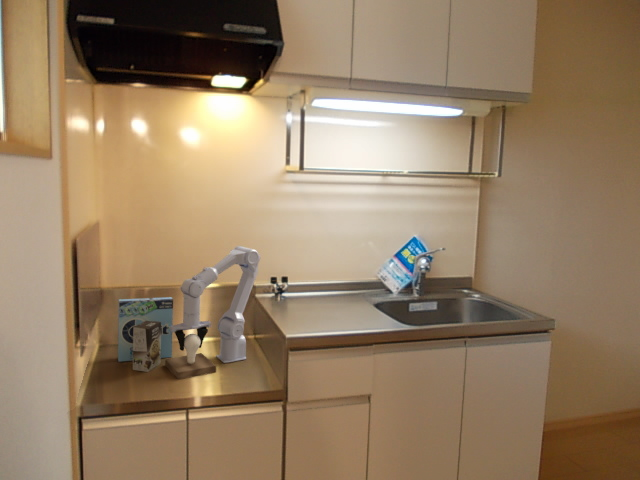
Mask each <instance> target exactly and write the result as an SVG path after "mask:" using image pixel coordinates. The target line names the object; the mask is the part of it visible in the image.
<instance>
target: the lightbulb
mask: <svg viewBox="0 0 640 480" xmlns="http://www.w3.org/2000/svg"><path fill="white" fill-rule="evenodd" d="M200 343H201V340H200V338H199V336H198V335H197V334H196V333H189V334H187V335H185V339H184V350H185V351H186V356H187V357H188V360H187V361H188V363H189V364H193V363H194V362H195V357H196V354H197V351H198V350H199V349H200V348H199V346H200Z"/></svg>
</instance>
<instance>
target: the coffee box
mask: <svg viewBox="0 0 640 480" xmlns="http://www.w3.org/2000/svg"><path fill="white" fill-rule="evenodd" d="M161 359H162V358H161V322H156V321H144V322H143V323H141V324H139V325H137V326H135V327H133V361H132V370H133V371H138V372H144V373H149V372H150V371H152V370H153V369H154V368H156V367H158V366H159V365H160V364H161V363H162V362H161Z"/></svg>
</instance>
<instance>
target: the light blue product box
mask: <svg viewBox="0 0 640 480" xmlns="http://www.w3.org/2000/svg"><path fill="white" fill-rule="evenodd" d="M173 316H174V299H173V297H171V296H169V297H167V296H166V297H143V298H125V299H124V298H122V299H121V298H120V299H118V320H117V321H118V327H117V328H118V331H117V332H118V333H117V335H118V336H117V337H118V339H117V340H118V341H117V342H118V343H117V360H118V363H120V362H121V363H122V362H130V361H131V362H133V327H135V326H137V325H139V324H141V323H143V322H144V321H156V322H161V359H169V358H173V333H172V332H171V326H173V324H174V323H173V322H174V321H173V320H174V319H173V318H174V317H173Z"/></svg>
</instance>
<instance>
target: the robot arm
mask: <svg viewBox="0 0 640 480" xmlns="http://www.w3.org/2000/svg"><path fill="white" fill-rule="evenodd" d="M260 260H261V256H260V254H259V252H258V251H257V250H256V249H255V248H249V247H246V246H241V245H238V246H235V247H234V248H233V249H231V250H230V252H229V253H228V254H227V255H226V256H225V257H224V258H222V259H220V261H219V262H217V263H216V264H215V265H213V266H212V267H211V266H208V267H203V268H202V271H200V272H199V273H197V274H196V275H192V277H191V278H187V279H185V280H184V281H183V283H182V284H181V286H179V287H180V291H181V292H182V295H183V306H182V307H183V311H182V312H183V313H182V320H183V321H182V322H181V323H178V324H174V325H173V326H171V332H172V334H173V333H174V334H175V336H176V338H177V342H178V344H179V350H180V351H181V352H184V350H185V347H184V339H185V337H186V333H185V331H189V330H190V331H191V330H196V333H197V334H196V335H198V336H199V338H200V340H201V343H200V346H199V348H198V349H201V348H202V345H203V342H204V339H205V337H206V335H207V333H208V332H209V329H208V328H211V327H212V322H211V321H209V320H205V321H201V320H200V318H201V317H200V315H201V314H200V313H201V310H200V309H201V306H200V305H201V296H202V295H203V294H204V291H205V289H206V288H208V286H210V285H211V284H213V283H214V282H216V281H217V280H218V276H219V274H222V273H223V272H225V271H226V270H228V269H229V268H231V267H232V266H234V265H238V266H239V267H240V269H241V271H242V274H241V277H240V279H239V282H238V285H237V287H236V290H235V293H234V295H233V298H232V300H231V304H230V307H229V309H228V310H227V311H225V312H224V313H223V314H222V316H221V318H220V319H219V320H218V323H217V325H216V327H217V331H218V332H219V333H220V350H219V351H220V352H219V353H220V354H216V355H215V357H216V358H217V359H218V360H220V361H221V362H222V363H223V364H227V363H232V362H239V361H242V360H243V361H244V360H246V359H247V355H246V354H247V341H246V337H245V335H244V331H245V323H246V320H245V318H244V315H243V313H244V312H245V308H246V306H247V303H248V301H249V297H250V294H251V291H253V286H254V283H255V280H256V278H257V276H258V272H259V262H260Z"/></svg>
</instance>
